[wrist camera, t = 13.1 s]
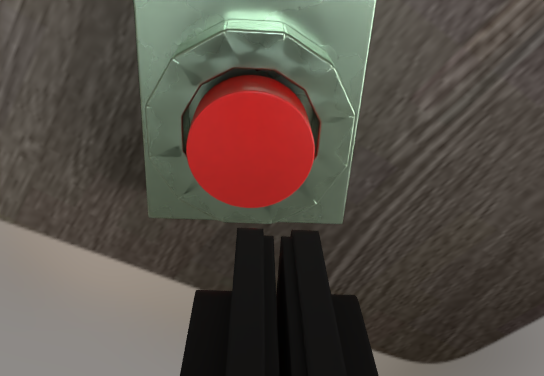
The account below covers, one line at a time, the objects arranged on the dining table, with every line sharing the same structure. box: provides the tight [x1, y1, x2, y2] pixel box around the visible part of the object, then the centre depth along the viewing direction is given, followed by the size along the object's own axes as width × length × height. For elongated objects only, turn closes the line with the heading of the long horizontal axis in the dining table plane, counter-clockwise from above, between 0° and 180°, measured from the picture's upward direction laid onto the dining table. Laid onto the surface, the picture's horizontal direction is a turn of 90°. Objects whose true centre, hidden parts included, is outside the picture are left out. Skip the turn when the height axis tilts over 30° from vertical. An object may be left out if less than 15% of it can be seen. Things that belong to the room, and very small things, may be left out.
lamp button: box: [186, 75, 315, 208], centre depth 16 cm, size 4×4×2 cm
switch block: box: [133, 0, 377, 224], centre depth 18 cm, size 9×8×4 cm
